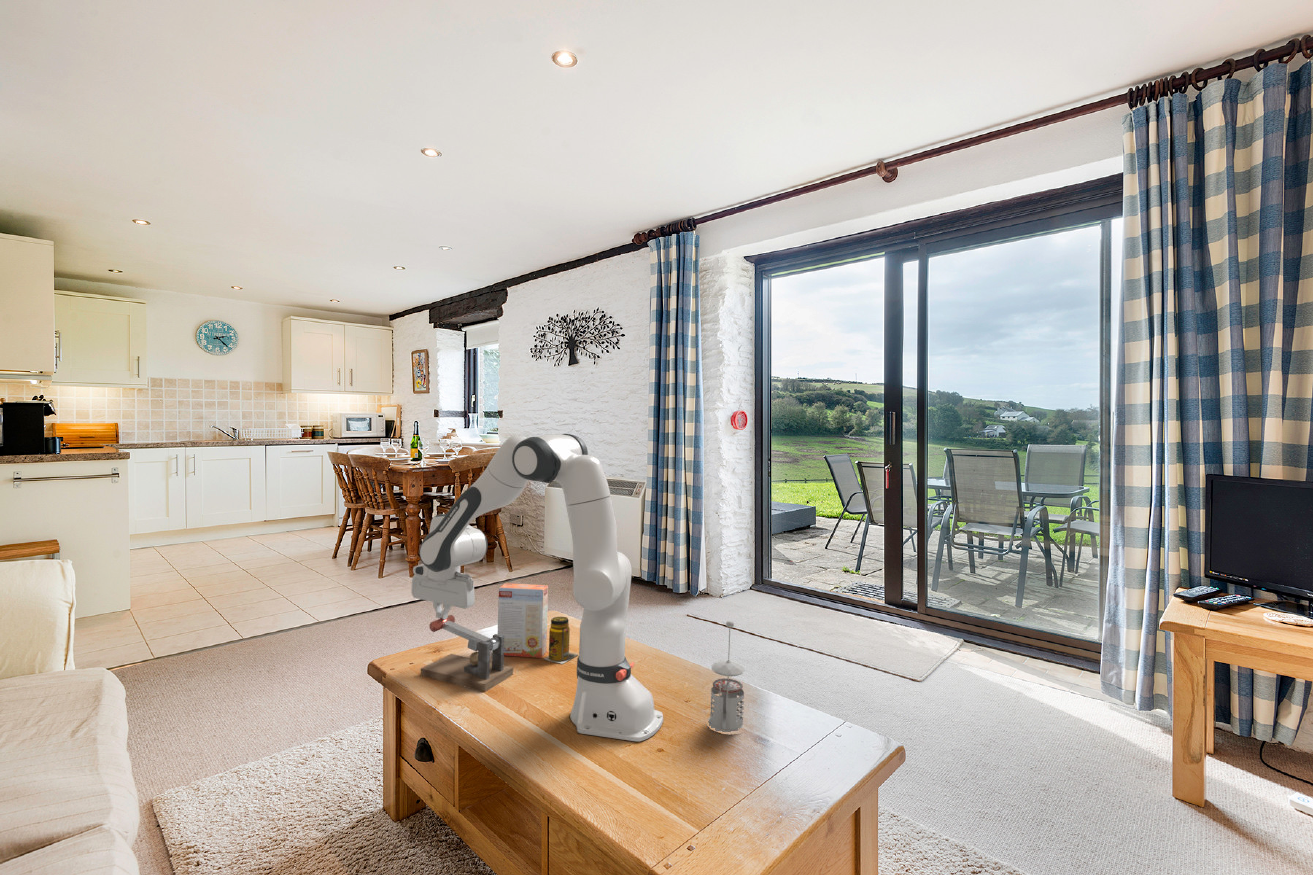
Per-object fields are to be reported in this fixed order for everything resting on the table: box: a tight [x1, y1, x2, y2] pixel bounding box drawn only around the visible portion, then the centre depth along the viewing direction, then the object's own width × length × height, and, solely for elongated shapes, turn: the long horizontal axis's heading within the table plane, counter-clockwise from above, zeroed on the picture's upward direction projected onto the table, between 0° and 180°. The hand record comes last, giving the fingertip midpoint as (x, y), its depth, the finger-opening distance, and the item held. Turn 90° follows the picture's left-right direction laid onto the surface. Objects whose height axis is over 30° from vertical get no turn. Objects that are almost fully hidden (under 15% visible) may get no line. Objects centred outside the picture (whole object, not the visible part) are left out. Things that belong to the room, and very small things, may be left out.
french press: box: [707, 620, 746, 732], centre depth 141 cm, size 10×12×25 cm
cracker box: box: [497, 582, 549, 659], centre depth 182 cm, size 14×6×21 cm, turn 84°
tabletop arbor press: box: [420, 633, 514, 692], centre depth 165 cm, size 22×12×12 cm, turn 67°
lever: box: [429, 614, 501, 652], centre depth 165 cm, size 20×7×4 cm, turn 67°
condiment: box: [543, 616, 579, 665], centre depth 180 cm, size 7×8×12 cm
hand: (441, 618), depth 169 cm, fingers closed, pressing on lever
